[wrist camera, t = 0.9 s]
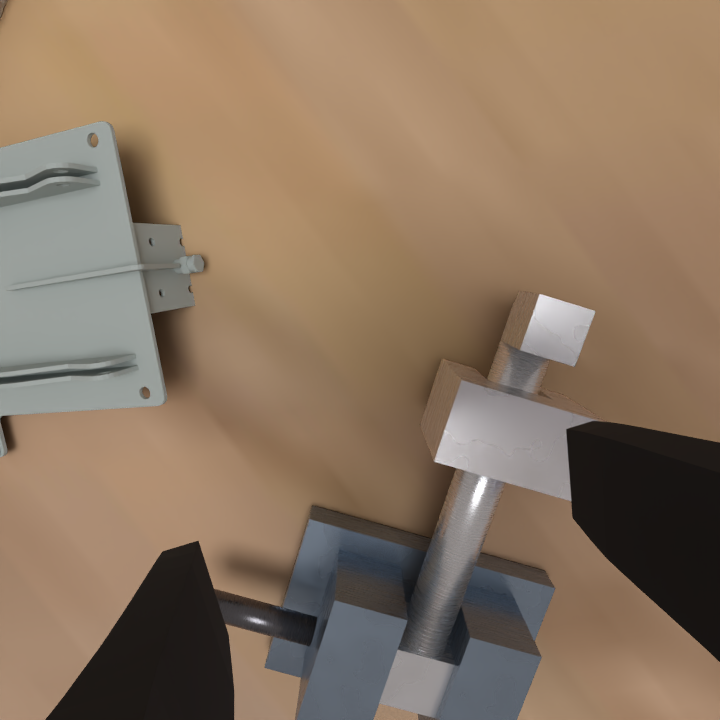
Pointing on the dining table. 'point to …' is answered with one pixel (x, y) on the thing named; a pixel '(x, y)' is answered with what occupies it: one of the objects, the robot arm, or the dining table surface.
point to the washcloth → (2, 6)
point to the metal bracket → (80, 280)
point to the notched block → (501, 429)
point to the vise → (420, 584)
